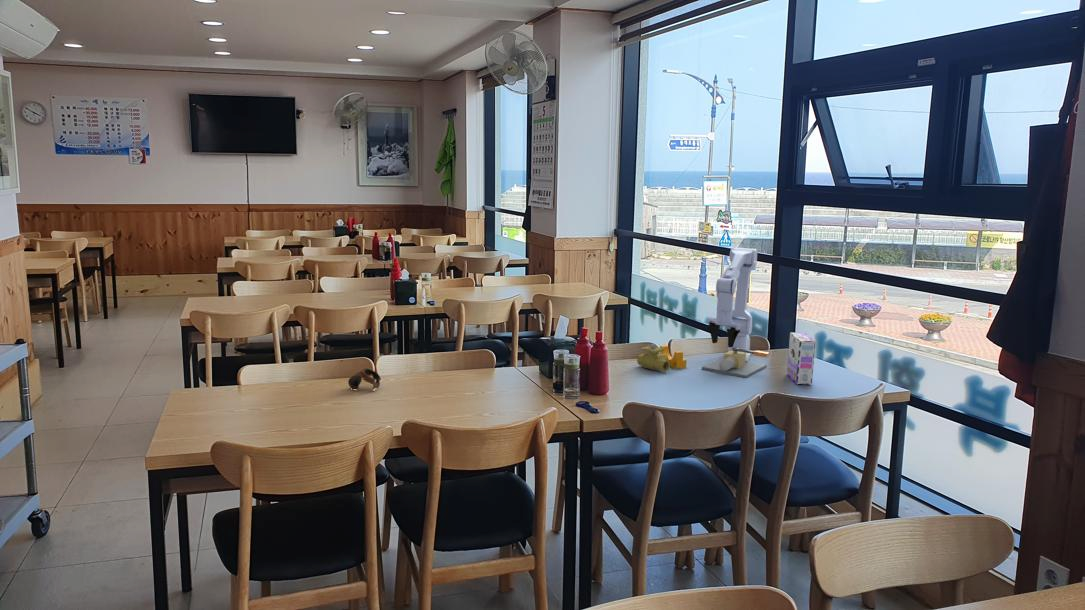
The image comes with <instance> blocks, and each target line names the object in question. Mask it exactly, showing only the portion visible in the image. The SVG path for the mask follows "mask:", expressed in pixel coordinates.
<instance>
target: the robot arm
mask: <svg viewBox="0 0 1085 610" xmlns="http://www.w3.org/2000/svg"><path fill="white" fill-rule="evenodd" d="M757 260H758V251H757V248H747V247H745V248H744V247H735V246H732V248H731V249H730V252H729V262H730V266H728V267H726V268H725V269H724V271H723V274H722V276H721V277H720V278H718V279H717V280H716V285H715V290H716V298H717V301H716V302H717V303H716V306H717V307H716V318H715V317H711V316H710V317H707V319H706V321H707V322H706V324H707V326H706V327H707V329H708V330H709V331H708V332H709V334H710V337H711V341H712V344H717V343H718V341H719V340H718V339H719V332H720V328H721V327H724V328H725V331H726V334H727V352H729V351H731V350H732V347H737V348H740V349H746V350H751V349H750V347H751V337H750V336H749V335H751V334H752V331H753V316H752V315H751V313H749V312H748V311H747V305H748V295H749V285H750V279H751V273H752V271H753V270H756V268H757ZM734 294H735V302H734ZM733 306H734V308H733ZM738 352H739V351H738ZM749 354H750V353H749ZM724 356H725V353H724V354H723V357H724ZM750 356H752V354H750Z"/></svg>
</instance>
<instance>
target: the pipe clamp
mask: <svg viewBox="0 0 1085 610" xmlns="http://www.w3.org/2000/svg"><path fill="white" fill-rule="evenodd" d="M659 347H660V348H665V350H664V351H660V352H659V354H665V355H667V357H668V361H670V367H672V368H674V369H676V370H677V369H686V368H687V359H686V358H684V351H681V350H677V351H674V354H673V357H672V356H671V353H670V350H669V346H668V345H666V344H663V345H659Z"/></svg>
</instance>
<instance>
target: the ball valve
mask: <svg viewBox="0 0 1085 610" xmlns="http://www.w3.org/2000/svg"><path fill="white" fill-rule="evenodd" d="M641 350H642V351H645V352H646V351H647V352H646V353H642V352H641V353H640V354H638V356H637V359H636V362H637V365H639V366H641V367H642V368H644V369H648V370H654V371H655V370H658V371H661V372H664V373H667V372H669V370H670V367H671V366H670V361H668V357H667V355H665V354H660V351H664V350H665V348H660V346H659V347H658V346H657V345H656V343H651V344H650V345H648V346H643V347H641ZM658 353H659V354H658Z"/></svg>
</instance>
